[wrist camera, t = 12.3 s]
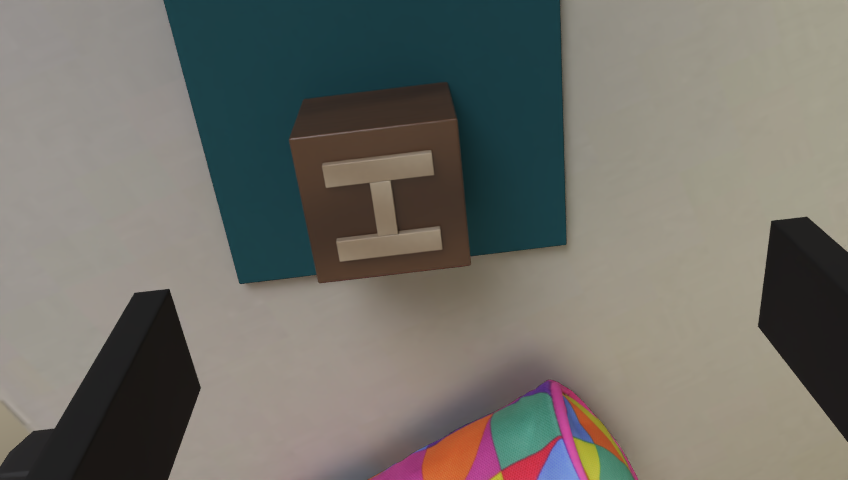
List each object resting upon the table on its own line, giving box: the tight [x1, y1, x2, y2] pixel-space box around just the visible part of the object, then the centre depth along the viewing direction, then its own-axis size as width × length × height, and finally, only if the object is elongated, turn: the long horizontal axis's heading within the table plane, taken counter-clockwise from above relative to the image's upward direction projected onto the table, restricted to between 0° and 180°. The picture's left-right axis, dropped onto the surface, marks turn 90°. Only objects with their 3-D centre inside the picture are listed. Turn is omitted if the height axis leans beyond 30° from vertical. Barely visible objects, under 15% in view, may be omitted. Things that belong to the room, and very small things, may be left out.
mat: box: [164, 0, 567, 284], centre depth 27 cm, size 20×14×1 cm
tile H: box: [289, 82, 471, 283], centre depth 27 cm, size 6×6×5 cm
